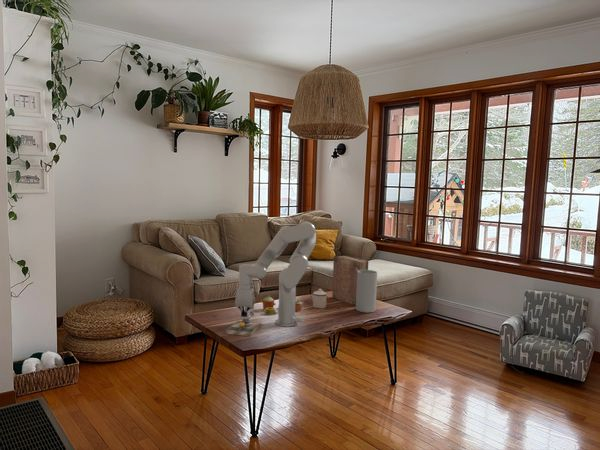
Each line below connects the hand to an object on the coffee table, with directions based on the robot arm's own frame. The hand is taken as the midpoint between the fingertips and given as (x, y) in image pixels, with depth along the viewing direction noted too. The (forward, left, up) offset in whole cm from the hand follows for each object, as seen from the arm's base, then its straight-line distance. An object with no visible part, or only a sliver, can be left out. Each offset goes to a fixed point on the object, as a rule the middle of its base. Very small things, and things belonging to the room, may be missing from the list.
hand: (244, 318), depth 260 cm
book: (-51, -70, -3) cm, 87 cm away
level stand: (-4, +10, -3) cm, 11 cm away
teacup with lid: (-33, -50, -3) cm, 60 cm away
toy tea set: (-13, -32, -4) cm, 35 cm away
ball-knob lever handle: (-3, +5, -1) cm, 6 cm away
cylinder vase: (-64, -51, -3) cm, 82 cm away
